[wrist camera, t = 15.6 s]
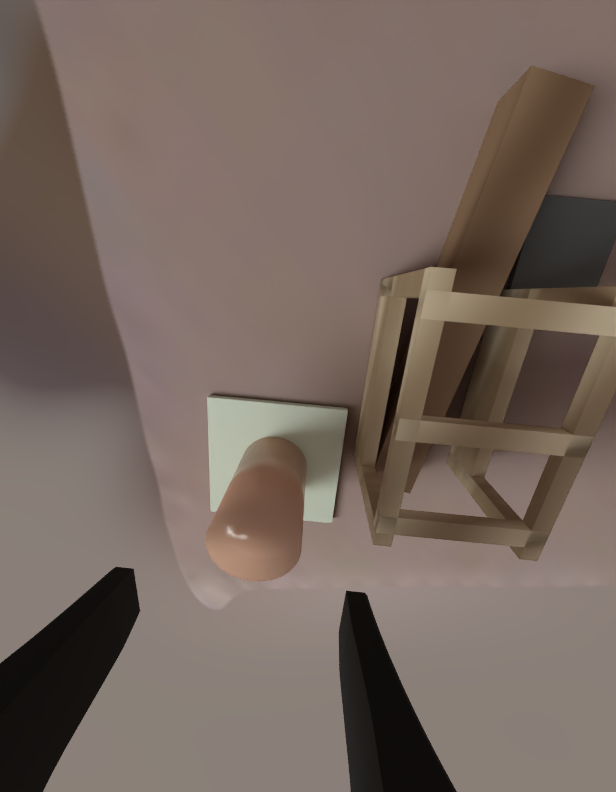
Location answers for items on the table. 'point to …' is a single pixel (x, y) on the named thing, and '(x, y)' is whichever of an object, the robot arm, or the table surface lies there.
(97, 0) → the table surface
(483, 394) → the wooden ladder stand
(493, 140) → the rod
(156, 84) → the table surface
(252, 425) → the pad
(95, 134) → the table surface
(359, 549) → the table surface
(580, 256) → the mat
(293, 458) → the cylinder
